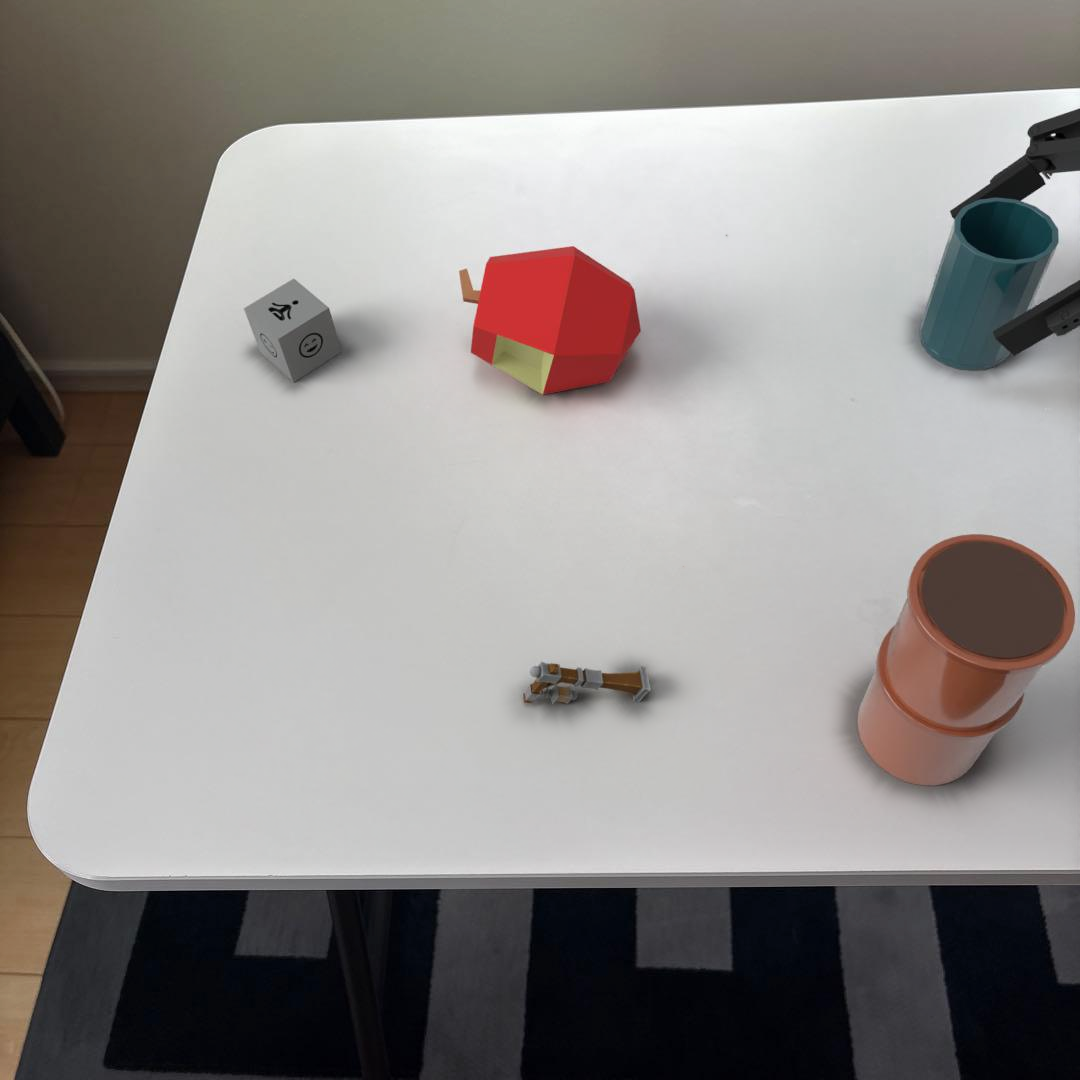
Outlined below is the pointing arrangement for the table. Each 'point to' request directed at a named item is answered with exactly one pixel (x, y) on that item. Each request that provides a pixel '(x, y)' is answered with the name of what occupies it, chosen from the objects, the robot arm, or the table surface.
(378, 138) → the table surface
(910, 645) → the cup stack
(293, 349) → the dice cube
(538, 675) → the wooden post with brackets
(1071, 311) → the robot arm
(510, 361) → the apple
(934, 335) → the cup
